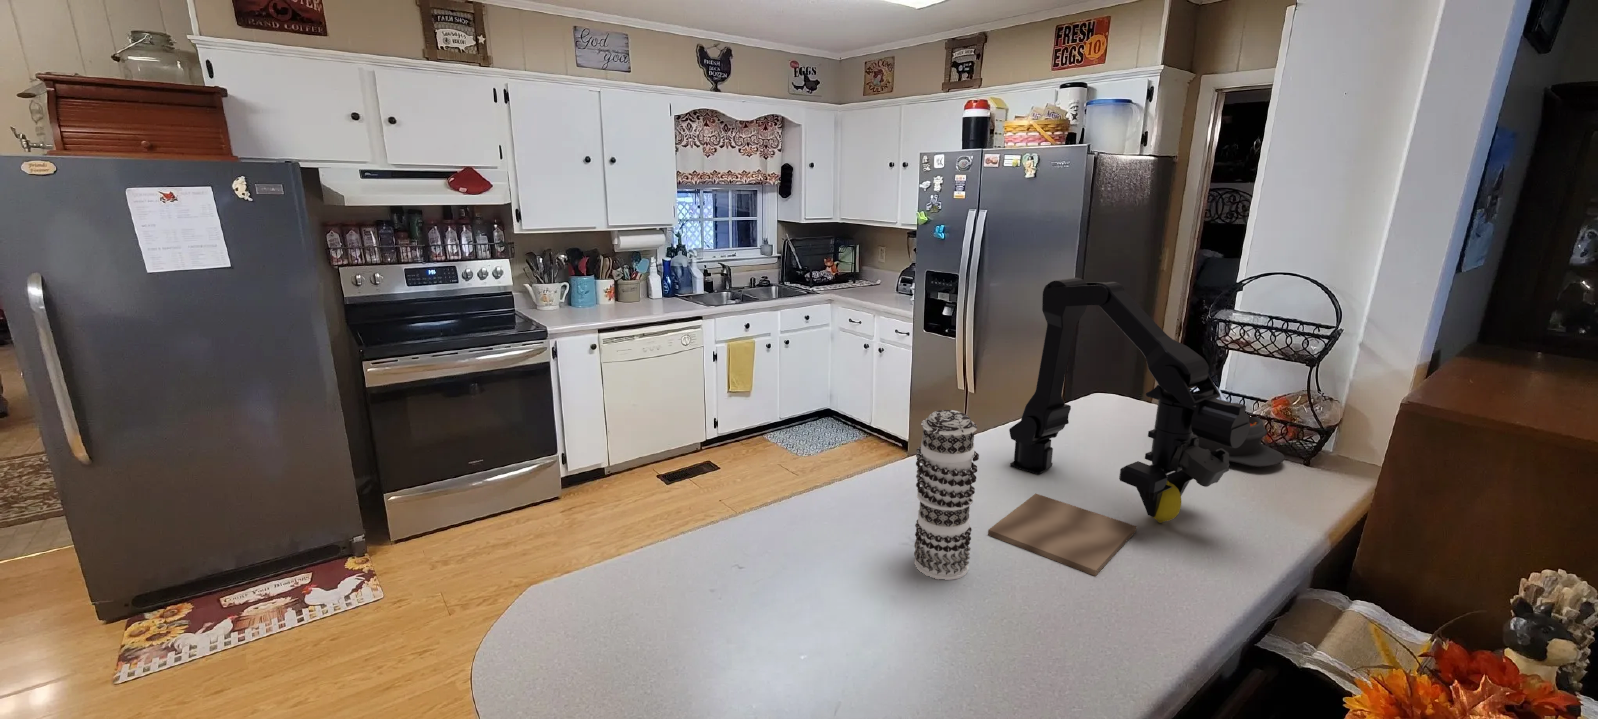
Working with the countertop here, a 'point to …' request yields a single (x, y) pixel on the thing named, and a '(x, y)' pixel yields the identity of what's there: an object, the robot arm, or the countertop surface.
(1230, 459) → the casserole
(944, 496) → the decorative candle
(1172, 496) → the lemon
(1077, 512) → the walnut board
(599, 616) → the countertop surface
